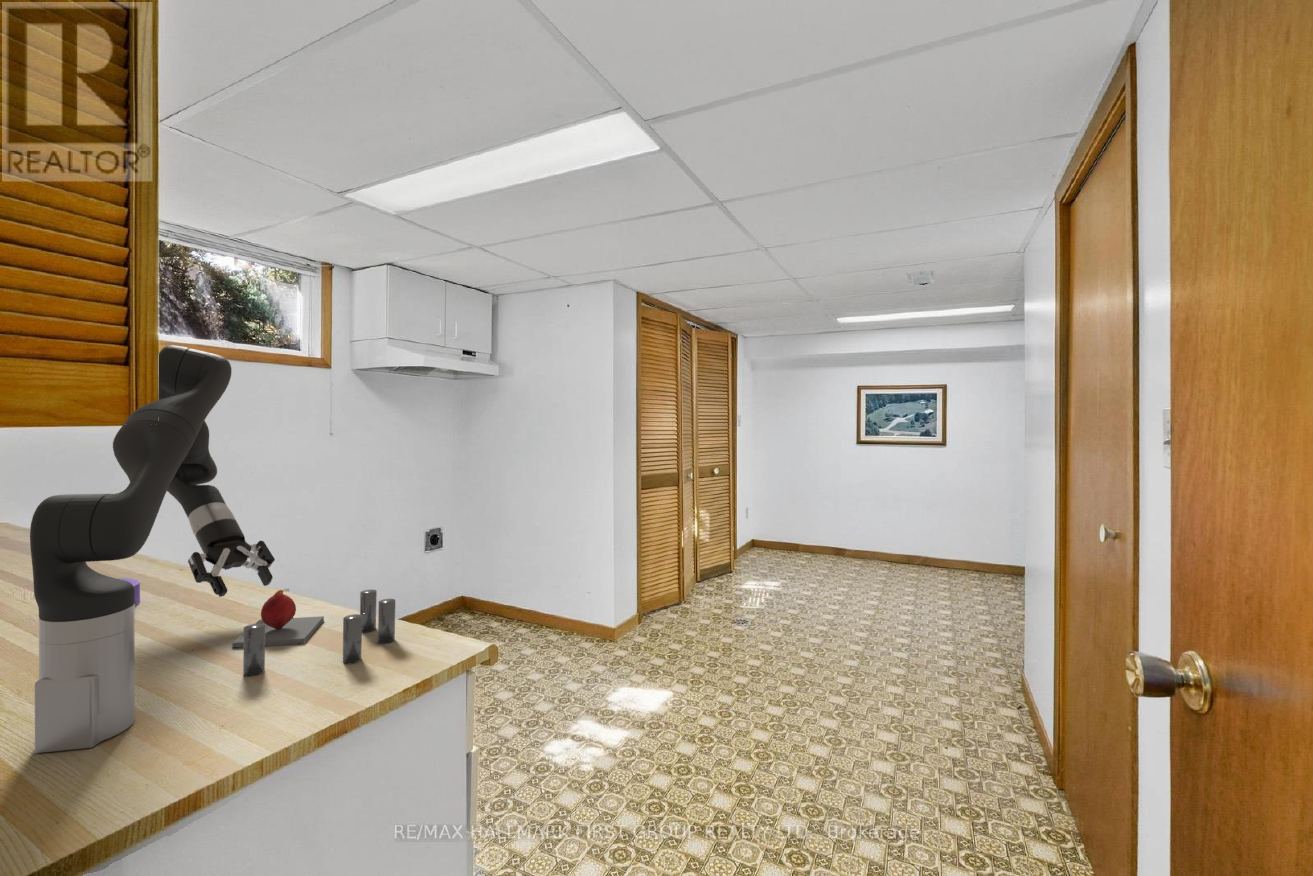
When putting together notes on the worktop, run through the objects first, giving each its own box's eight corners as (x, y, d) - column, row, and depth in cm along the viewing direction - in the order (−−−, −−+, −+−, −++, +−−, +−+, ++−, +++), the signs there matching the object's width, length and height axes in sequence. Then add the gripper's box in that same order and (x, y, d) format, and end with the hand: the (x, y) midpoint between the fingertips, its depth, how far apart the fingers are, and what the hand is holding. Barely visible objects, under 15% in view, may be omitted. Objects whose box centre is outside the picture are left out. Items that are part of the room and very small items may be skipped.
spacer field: (381, 666, 99) (382, 622, 99) (239, 676, 93) (240, 630, 93) (401, 624, 118) (402, 588, 118) (284, 631, 112) (285, 593, 112)
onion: (279, 636, 108) (279, 596, 107) (253, 633, 109) (253, 593, 108) (302, 625, 114) (302, 587, 113) (278, 622, 114) (278, 584, 114)
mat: (304, 643, 107) (304, 638, 107) (232, 648, 104) (232, 642, 104) (323, 620, 119) (323, 616, 119) (259, 624, 116) (259, 619, 116)
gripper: (183, 522, 113) (215, 587, 108) (258, 512, 126) (289, 570, 121) (169, 545, 115) (200, 609, 111) (244, 533, 128) (274, 590, 124)
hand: (246, 588), depth 116 cm, fingers open, 8 cm apart
